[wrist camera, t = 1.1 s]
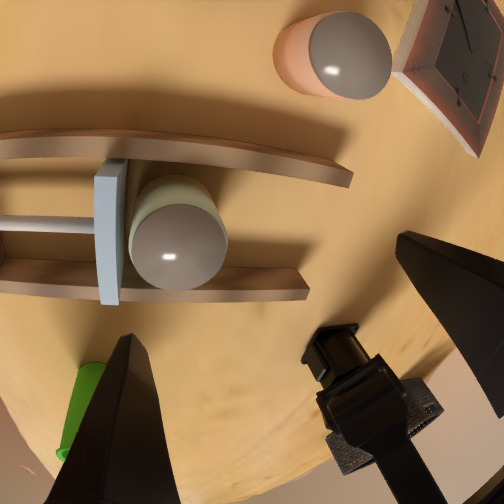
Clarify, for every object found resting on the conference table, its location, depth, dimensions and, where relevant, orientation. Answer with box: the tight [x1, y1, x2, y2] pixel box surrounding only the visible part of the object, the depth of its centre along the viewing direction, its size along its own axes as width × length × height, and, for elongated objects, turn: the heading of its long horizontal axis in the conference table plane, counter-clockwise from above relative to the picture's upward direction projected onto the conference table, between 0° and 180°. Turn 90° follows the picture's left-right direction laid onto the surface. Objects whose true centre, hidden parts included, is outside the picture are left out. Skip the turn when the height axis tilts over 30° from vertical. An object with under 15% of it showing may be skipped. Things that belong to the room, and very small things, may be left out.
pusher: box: [0, 158, 128, 305], centre depth 14 cm, size 13×8×5 cm, turn 77°
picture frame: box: [391, 0, 504, 158], centre depth 16 cm, size 16×2×22 cm
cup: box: [56, 363, 106, 462], centre depth 22 cm, size 9×9×11 cm
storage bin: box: [325, 378, 444, 475], centre depth 59 cm, size 29×19×13 cm
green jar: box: [129, 174, 228, 291], centre depth 18 cm, size 6×6×5 cm
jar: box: [273, 10, 392, 102], centre depth 14 cm, size 6×6×5 cm
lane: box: [0, 128, 354, 303], centre depth 18 cm, size 27×11×4 cm, turn 77°
